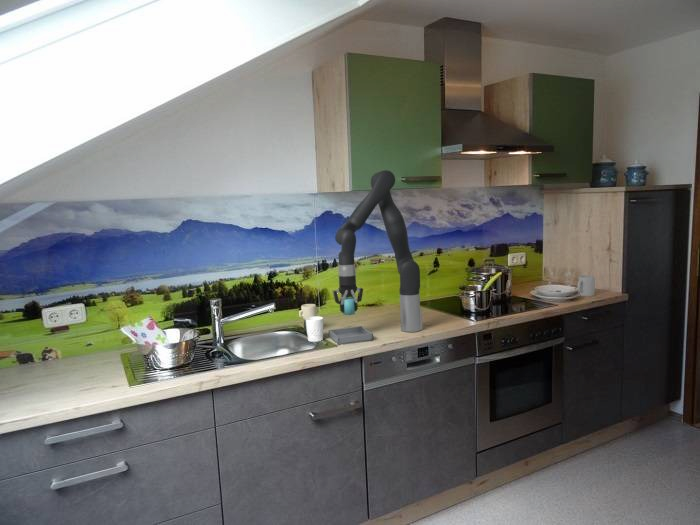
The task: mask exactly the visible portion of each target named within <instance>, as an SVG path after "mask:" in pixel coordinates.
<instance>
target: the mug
mask: <svg viewBox="0 0 700 525" xmlns="http://www.w3.org/2000/svg"><path fill="white" fill-rule="evenodd" d="M595 279H596V278H595V275H579V276H578V282H577V291H578V293H579V292H580V295H581V296H582V297H594V296H595V294H596V292H595V291H596V290H595ZM580 295H579V296H580ZM581 296H580V297H581Z"/></svg>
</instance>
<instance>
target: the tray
mask: <svg viewBox="0 0 700 525" xmlns="http://www.w3.org/2000/svg"><path fill="white" fill-rule="evenodd" d="M328 337H329V339H331V340H332V341H333V342H335V344H336V343H337V344H336V345H337V346H341V344H343V345H348V344H349V345H350V344H356V343H364V342H372V341H374V333H372V332H371V331H369V329H367V328H365V327H364V326H362V325H359V326H351V327H344V328H335V329H328Z"/></svg>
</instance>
